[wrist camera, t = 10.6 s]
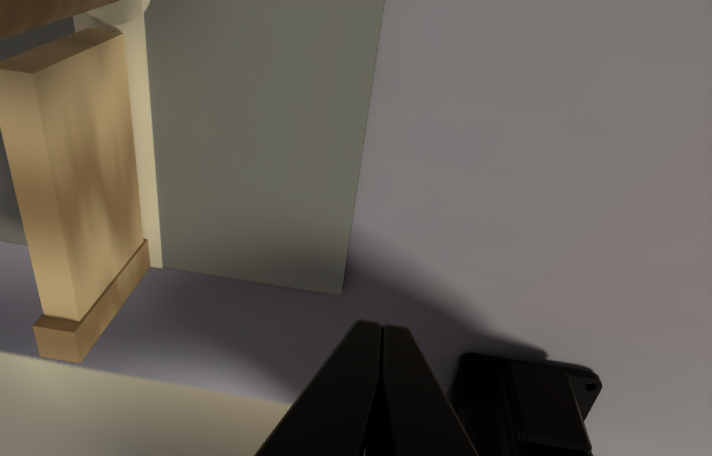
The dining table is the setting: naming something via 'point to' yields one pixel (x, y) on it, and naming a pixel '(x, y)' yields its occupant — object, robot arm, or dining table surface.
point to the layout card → (238, 131)
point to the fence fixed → (73, 172)
